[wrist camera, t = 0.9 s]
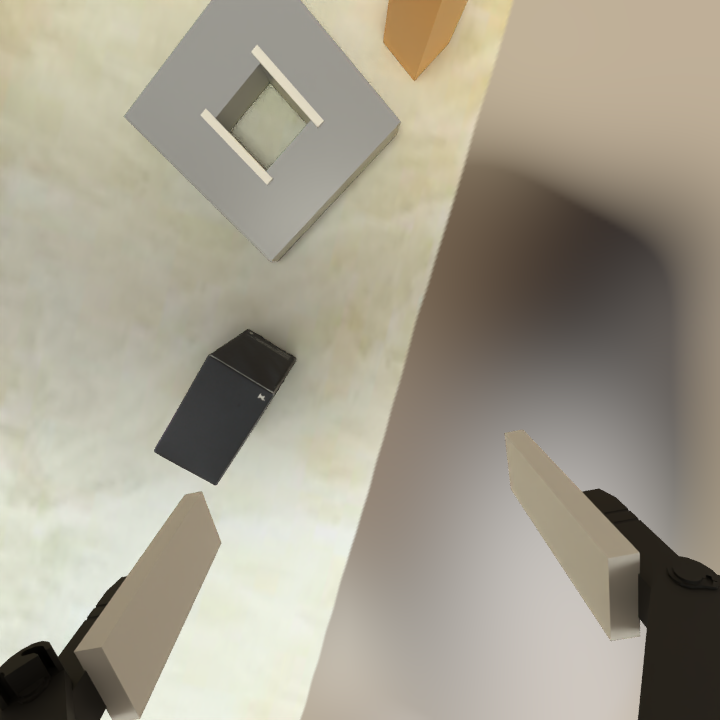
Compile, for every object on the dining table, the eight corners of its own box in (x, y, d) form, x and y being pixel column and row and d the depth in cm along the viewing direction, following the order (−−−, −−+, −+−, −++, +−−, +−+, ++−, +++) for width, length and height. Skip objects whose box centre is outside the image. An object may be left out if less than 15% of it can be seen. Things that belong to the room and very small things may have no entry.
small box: (244, 324, 39) (206, 349, 29) (298, 357, 40) (279, 393, 30) (198, 403, 41) (147, 452, 31) (250, 433, 42) (217, 489, 32)
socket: (146, 129, 34) (121, 115, 30) (265, -23, 31) (253, -60, 27) (278, 260, 37) (269, 261, 33) (396, 134, 34) (401, 120, 31)
